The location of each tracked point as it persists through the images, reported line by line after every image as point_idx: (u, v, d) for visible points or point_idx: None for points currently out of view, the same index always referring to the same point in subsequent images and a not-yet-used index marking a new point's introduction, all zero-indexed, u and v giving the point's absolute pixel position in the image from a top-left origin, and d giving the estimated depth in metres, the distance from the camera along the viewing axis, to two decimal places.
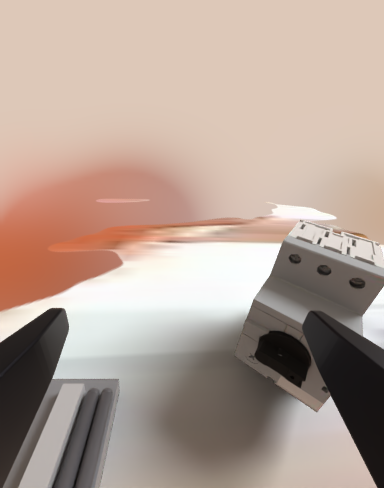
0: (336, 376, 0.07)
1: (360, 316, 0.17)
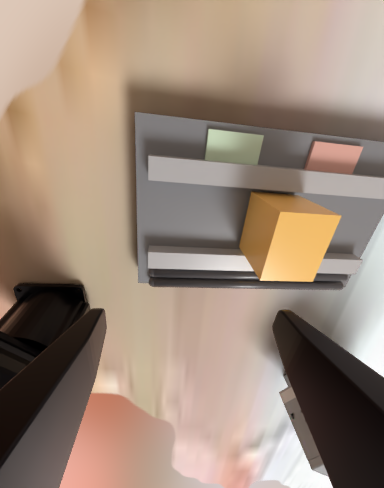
0: (300, 377, 0.07)
1: None
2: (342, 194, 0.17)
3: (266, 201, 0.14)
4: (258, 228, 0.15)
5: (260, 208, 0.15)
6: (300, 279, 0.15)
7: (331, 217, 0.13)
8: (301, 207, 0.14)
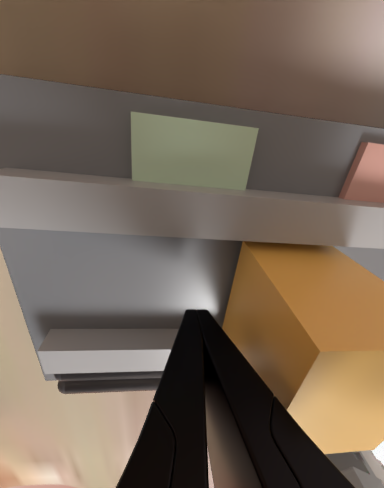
0: None
1: None
2: None
3: (274, 283, 0.06)
4: (256, 332, 0.07)
5: (260, 290, 0.07)
6: (348, 450, 0.07)
7: None
8: (361, 306, 0.06)
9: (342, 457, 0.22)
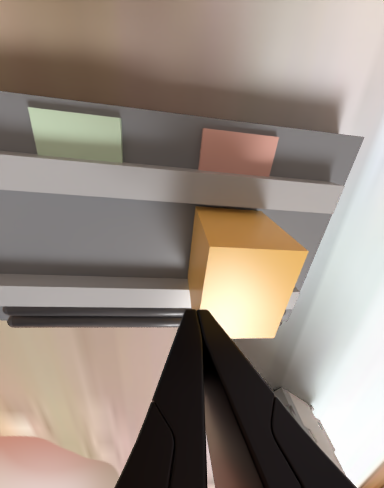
0: None
1: None
2: (253, 206, 0.12)
3: (203, 224, 0.10)
4: (197, 261, 0.11)
5: (199, 233, 0.11)
6: (255, 336, 0.10)
7: (293, 253, 0.08)
8: (252, 235, 0.09)
9: None
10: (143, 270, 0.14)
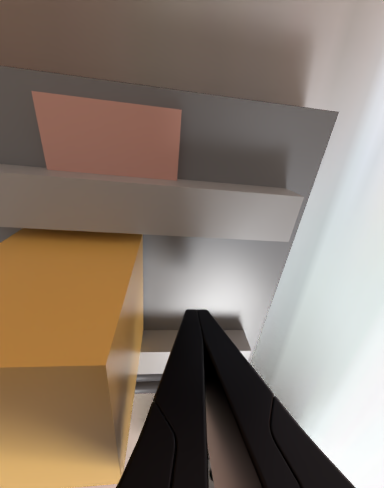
0: None
1: None
2: (146, 231, 0.07)
3: None
4: None
5: None
6: (81, 484, 0.05)
7: (70, 369, 0.03)
8: (25, 306, 0.04)
9: None
10: None
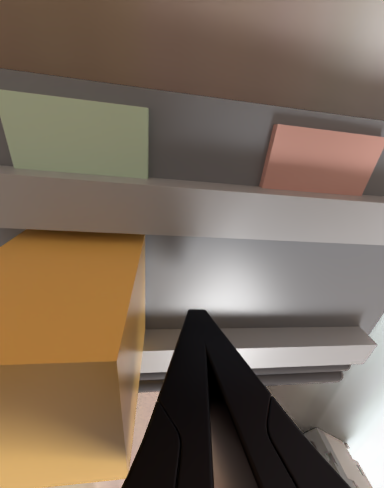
0: None
1: None
2: (341, 240, 0.08)
3: None
4: None
5: None
6: (88, 480, 0.06)
7: (82, 365, 0.04)
8: (34, 305, 0.04)
9: None
10: (169, 320, 0.10)
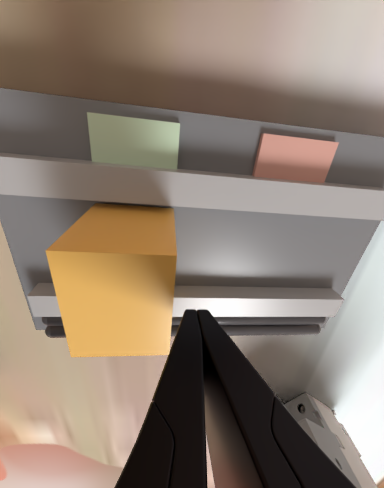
0: None
1: None
2: (309, 213, 0.11)
3: (76, 223, 0.08)
4: None
5: None
6: (145, 353, 0.09)
7: (159, 258, 0.07)
8: (124, 236, 0.08)
9: (303, 417, 0.25)
10: (185, 278, 0.14)
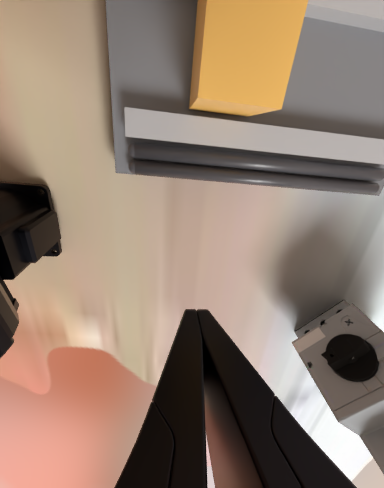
0: None
1: (360, 434, 0.19)
2: None
3: None
4: (199, 28, 0.10)
5: None
6: (262, 103, 0.10)
7: None
8: None
9: None
10: (261, 115, 0.15)
